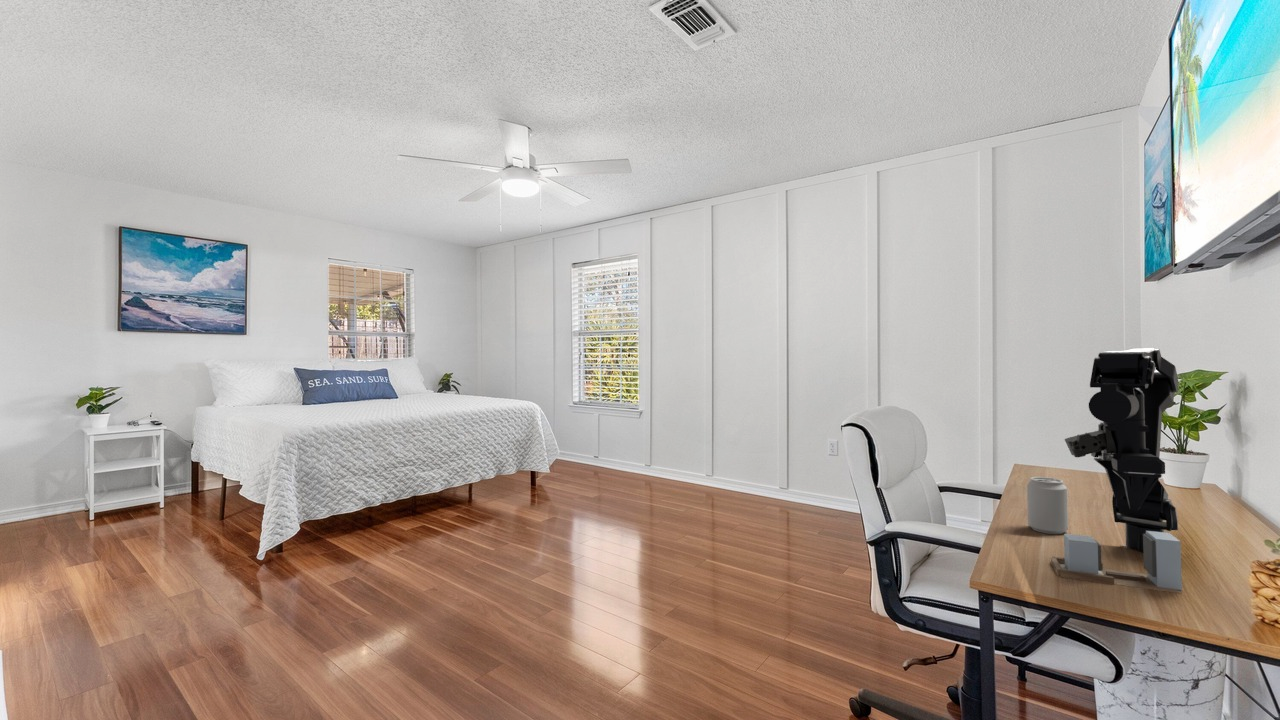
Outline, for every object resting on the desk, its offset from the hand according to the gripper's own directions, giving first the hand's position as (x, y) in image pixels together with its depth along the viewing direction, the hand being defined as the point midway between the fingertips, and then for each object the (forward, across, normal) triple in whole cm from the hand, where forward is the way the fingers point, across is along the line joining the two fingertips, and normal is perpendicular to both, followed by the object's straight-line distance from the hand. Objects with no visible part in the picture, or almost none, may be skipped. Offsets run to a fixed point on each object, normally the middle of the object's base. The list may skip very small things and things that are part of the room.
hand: (1125, 503), depth 99 cm
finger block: (+11, +7, -8) cm, 16 cm away
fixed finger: (+12, +7, +3) cm, 14 cm away
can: (+13, -26, -8) cm, 30 cm away
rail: (+13, +7, -4) cm, 15 cm away
